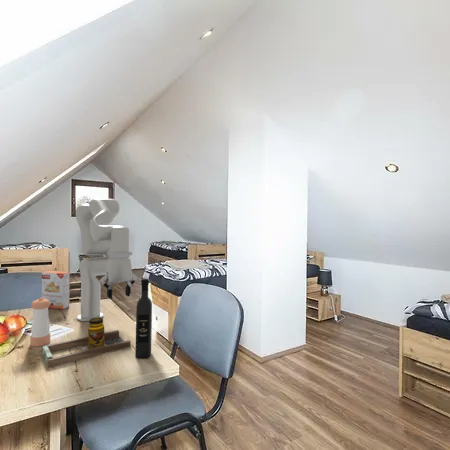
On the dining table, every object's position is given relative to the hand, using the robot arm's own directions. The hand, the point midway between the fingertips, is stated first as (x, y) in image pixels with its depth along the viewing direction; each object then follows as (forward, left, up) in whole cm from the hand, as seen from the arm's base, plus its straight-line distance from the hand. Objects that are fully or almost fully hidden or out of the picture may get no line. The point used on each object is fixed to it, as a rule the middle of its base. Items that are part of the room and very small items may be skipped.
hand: (118, 296), depth 132 cm
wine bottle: (+18, +3, -20) cm, 27 cm away
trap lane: (0, -13, -20) cm, 23 cm away
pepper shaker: (-18, -27, -20) cm, 38 cm away
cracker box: (-70, -12, -20) cm, 74 cm away
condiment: (0, -10, -20) cm, 22 cm away
